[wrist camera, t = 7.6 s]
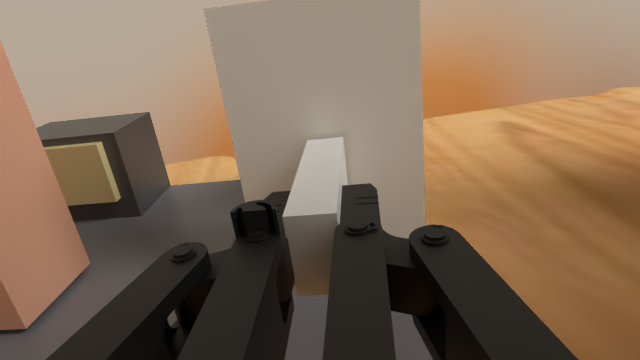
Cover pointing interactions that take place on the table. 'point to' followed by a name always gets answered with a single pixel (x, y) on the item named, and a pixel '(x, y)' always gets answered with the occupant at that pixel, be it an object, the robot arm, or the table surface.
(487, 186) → the table surface
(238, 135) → the off-white key
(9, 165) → the terracotta key
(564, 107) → the table surface
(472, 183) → the table surface
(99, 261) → the key console
